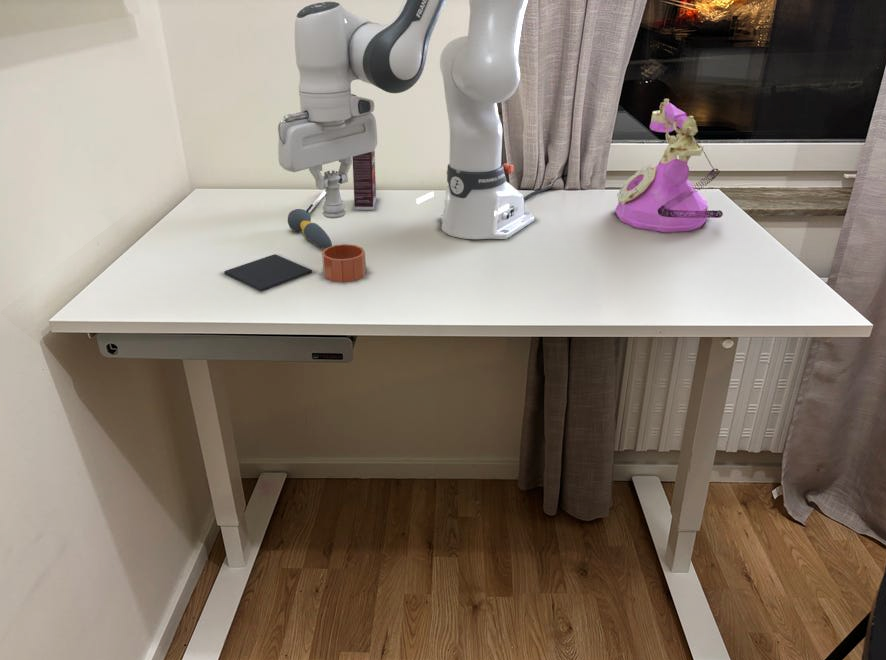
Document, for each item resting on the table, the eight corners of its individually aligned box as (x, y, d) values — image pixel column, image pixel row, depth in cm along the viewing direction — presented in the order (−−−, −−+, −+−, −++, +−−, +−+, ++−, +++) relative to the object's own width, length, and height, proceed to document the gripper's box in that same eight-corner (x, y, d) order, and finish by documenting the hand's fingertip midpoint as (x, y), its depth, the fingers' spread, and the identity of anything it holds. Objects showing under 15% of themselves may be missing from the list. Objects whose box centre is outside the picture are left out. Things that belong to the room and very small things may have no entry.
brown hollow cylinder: (346, 262, 149) (345, 241, 147) (374, 273, 145) (373, 251, 142) (315, 274, 144) (313, 252, 142) (342, 285, 140) (341, 263, 137)
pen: (303, 216, 173) (303, 212, 172) (324, 192, 189) (324, 187, 189) (307, 217, 173) (307, 212, 172) (328, 192, 189) (327, 187, 188)
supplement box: (374, 210, 177) (371, 143, 169) (354, 210, 177) (350, 143, 169) (377, 199, 184) (374, 133, 176) (357, 199, 184) (354, 133, 176)
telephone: (606, 199, 184) (618, 93, 171) (698, 200, 183) (717, 94, 170) (634, 254, 153) (652, 130, 140) (746, 255, 152) (774, 130, 140)
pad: (275, 256, 152) (274, 254, 152) (312, 272, 145) (312, 269, 145) (224, 273, 145) (224, 271, 144) (261, 291, 137) (260, 288, 137)
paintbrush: (346, 248, 156) (344, 225, 153) (325, 253, 153) (323, 230, 151) (299, 223, 170) (297, 201, 167) (280, 228, 167) (277, 206, 164)
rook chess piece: (318, 217, 138) (314, 174, 134) (329, 209, 141) (326, 167, 137) (339, 220, 136) (336, 177, 132) (350, 212, 140) (348, 170, 136)
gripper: (289, 119, 120) (297, 202, 127) (381, 100, 133) (384, 176, 140) (265, 114, 124) (275, 195, 131) (357, 95, 137) (361, 170, 144)
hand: (332, 185), depth 136 cm, fingers closed on rook chess piece, 3 cm apart
